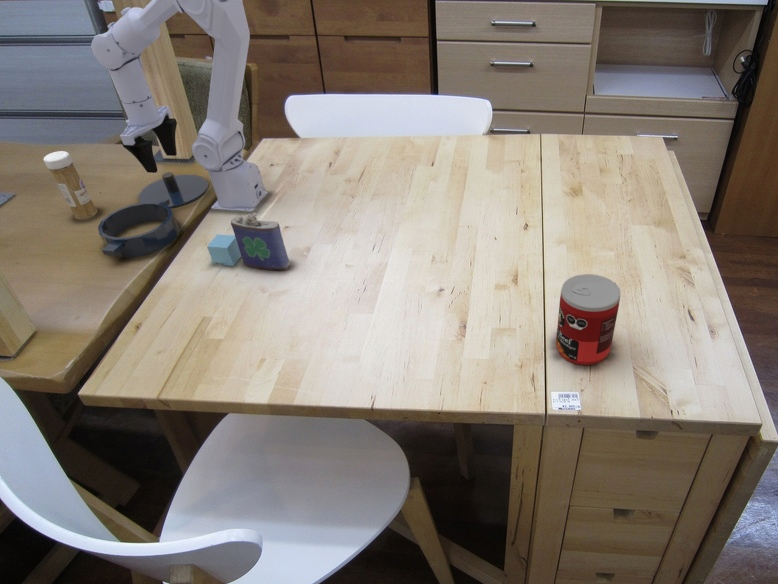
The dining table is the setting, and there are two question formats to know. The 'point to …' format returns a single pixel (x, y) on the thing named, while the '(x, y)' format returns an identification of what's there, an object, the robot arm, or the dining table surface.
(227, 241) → the blue cube
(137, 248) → the pot
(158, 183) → the lid
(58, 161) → the sprinkles bottle
